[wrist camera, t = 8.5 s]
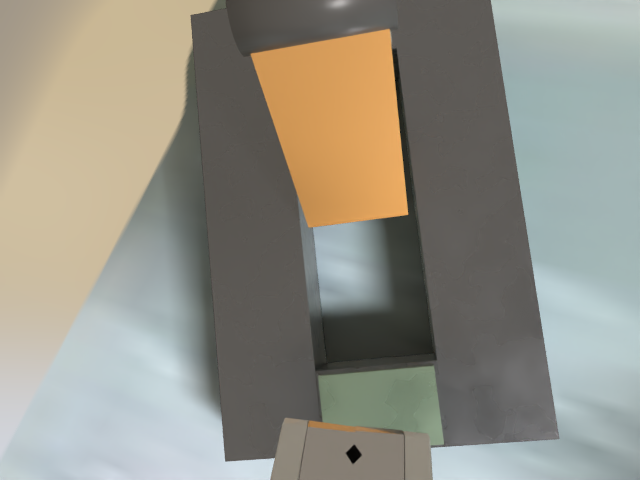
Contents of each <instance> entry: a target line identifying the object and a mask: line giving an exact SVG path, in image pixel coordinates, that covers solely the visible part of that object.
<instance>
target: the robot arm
mask: <svg viewBox="0 0 640 480" xmlns="http://www.w3.org/2000/svg"><path fill="white" fill-rule="evenodd" d="M270 480H433V477H432V461H431V445H430V437H429V435H428V433H418V432H408V431H404V432H403V430H395V429H385V428H374V427H363V426H356V427H353V426H346V425H339V424H331V423H324V422H317V421H309V420H301V419H293V418H285V419H284V422H283V424H282V428H281V432H280V437H279V442H278V446H277V451H276V456H275V461H274V465H273V470H272V475H271V479H270Z"/></svg>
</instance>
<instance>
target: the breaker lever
mask: <svg viewBox="0 0 640 480" xmlns="http://www.w3.org/2000/svg"><path fill="white" fill-rule="evenodd" d="M226 7H227V13H228V18H229V23H230V27H231V30H232V34H233V37H234V40H235V43H236V45H237V47H238V49H239V51H240V53H241V54H242V55H243V56H244V57H246V56H251V57H252V60H253V63H254V66H255V69H256V72H257V75H258V78H259V81H260V84H261V87H262V90H263V93H264V96H265V99H266V102H267V105H268V108H269V111H270V114H271V117H272V120H273V123H274V126H275V129H276V132H277V135H278V138H279V141H280V144H281V147H282V150H283V153H284V156H285V159H286V162H287V165H288V168H289V171H290V174H291V177H292V180H293V183H294V186H295V189H296V192H297V195H298V198H299V201H300V204H301V207H302V210H303V213H304V215H305V218H306V221H307V224H308V227H309V228H310V227H318V226H325V225H333V224H341V223H349V222H356V221H364V220H372V219H380V218H388V217H395V216H403V215H408V207H407V197H406V187H405V177H404V167H403V157H402V147H401V137H400V127H399V117H398V107H397V97H396V87H395V77H394V67H393V57H392V47H391V37H390V31H392V30H398V12H397V1H396V0H226Z"/></svg>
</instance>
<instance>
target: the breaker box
mask: <svg viewBox="0 0 640 480" xmlns="http://www.w3.org/2000/svg"><path fill="white" fill-rule="evenodd" d="M396 1H397V12H398V30H392V31H390V37H391V47H392V57H393V67H394V77H395V80H397V79H398V83H399V91H400V98H401V106H402V114H403V122H404V129H405V137H406V145H407V152H408V160H409V168H410V176H411V183H412V191H413V199H414V206H415V214H416V222H417V230H418V237H419V245H420V253H421V260H422V268H423V276H424V284H425V291H426V299H427V307H428V314H429V322H430V330H431V338H432V345H433V353H429V354H418V355H407V356H396V357H386V358H375V359H364V360H353V361H342V362H331V363H327V360H326V350H325V341H324V331H323V321H322V312H321V302H320V292H319V283H318V273H317V264H316V254H315V244H314V235H313V227H310V228H309V227H308V224H307V221H306V218H305V215H304V213H303V210H302V207H301V204H300V201H299V198H298V195H297V192H296V189H295V186H294V183H293V180H292V177H291V174H290V171H289V168H288V165H287V162H286V159H285V156H284V153H283V150H282V147H281V144H280V141H279V138H278V135H277V132H276V129H275V126H274V123H273V120H272V117H271V114H270V111H269V108H268V105H267V102H266V99H265V96H264V93H263V90H262V87H261V84H260V81H259V78H258V75H257V72H256V69H255V66H254V63H253V60H252V57H251V56H246V57H244V56H243V55H242V54H241V53H240V51H239V49H238V47H237V45H236V43H235V40H234V37H233V34H232V30H231V27H230V23H229V18H228V13H227V8H225V9H220V10H215V11H210V12H205V13H200V14H194V15H191V26H192V39H193V52H194V65H195V78H196V90H197V103H198V116H199V129H200V142H201V155H202V168H203V181H204V193H205V206H206V219H207V232H208V245H209V258H210V271H211V284H212V296H213V309H214V322H215V335H216V348H217V361H218V374H219V387H220V399H221V412H222V425H223V438H224V451H225V461H239V460H254V459H269V458H275V456H276V451H277V446H278V442H279V437H280V432H281V428H282V424H283V422H284V419H285V418H293V419H301V420H309V421H317V422H324V423H331V424H339V425H346V426H353V427H356V426H363V427H374V428H385V429H395V430H403V432H404V431H408V432H418V433H428V435H429V437H430V445H431V448H433V447H448V446H463V445H478V444H493V443H507V442H522V441H537V440H552V439H559V434H558V428H557V421H556V415H555V409H554V402H553V396H552V389H551V383H550V377H549V370H548V364H547V357H546V351H545V345H544V338H543V332H542V326H541V319H540V313H539V306H538V300H537V294H536V287H535V281H534V274H533V268H532V262H531V255H530V249H529V242H528V236H527V230H526V223H525V217H524V211H523V204H522V198H521V191H520V185H519V179H518V172H517V166H516V159H515V153H514V147H513V140H512V134H511V127H510V121H509V115H508V108H507V102H506V96H505V89H504V83H503V76H502V70H501V64H500V57H499V51H498V44H497V38H496V32H495V25H494V19H493V13H492V6H491V0H396Z"/></svg>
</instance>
